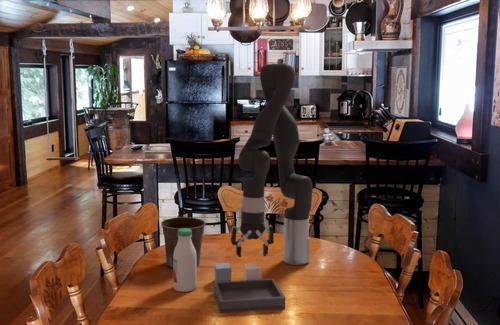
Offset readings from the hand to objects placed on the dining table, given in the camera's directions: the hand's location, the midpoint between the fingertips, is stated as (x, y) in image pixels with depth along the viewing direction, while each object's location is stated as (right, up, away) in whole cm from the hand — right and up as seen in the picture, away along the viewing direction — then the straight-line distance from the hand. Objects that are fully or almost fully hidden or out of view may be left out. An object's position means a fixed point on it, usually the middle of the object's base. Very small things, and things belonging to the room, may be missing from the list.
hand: (251, 256), depth 194 cm
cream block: (0, -10, +2) cm, 10 cm away
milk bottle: (-22, -10, -3) cm, 25 cm away
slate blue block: (-10, -9, +2) cm, 14 cm away
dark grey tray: (-1, -12, -13) cm, 17 cm away
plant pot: (-25, -6, +19) cm, 32 cm away
